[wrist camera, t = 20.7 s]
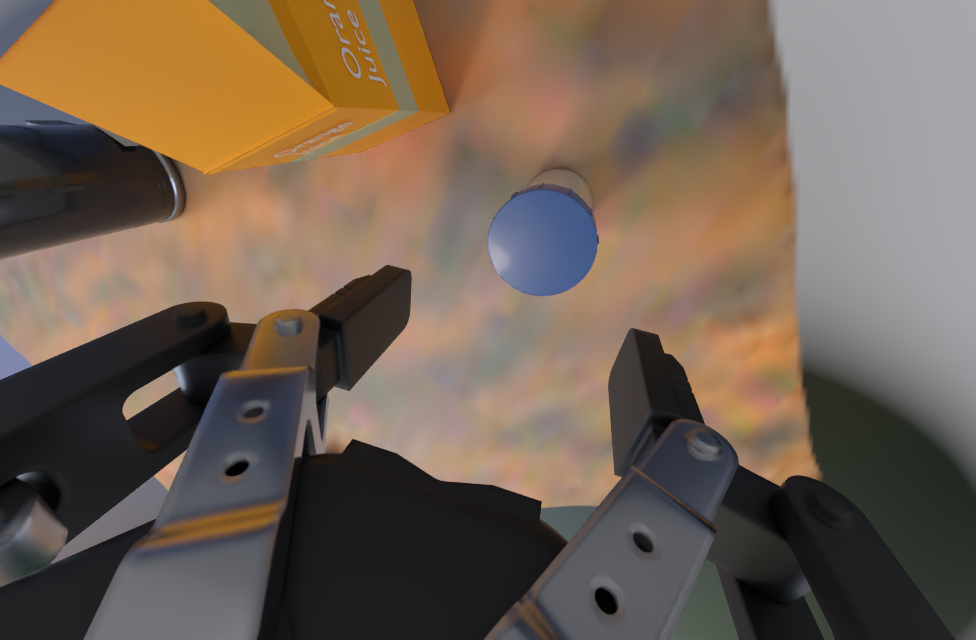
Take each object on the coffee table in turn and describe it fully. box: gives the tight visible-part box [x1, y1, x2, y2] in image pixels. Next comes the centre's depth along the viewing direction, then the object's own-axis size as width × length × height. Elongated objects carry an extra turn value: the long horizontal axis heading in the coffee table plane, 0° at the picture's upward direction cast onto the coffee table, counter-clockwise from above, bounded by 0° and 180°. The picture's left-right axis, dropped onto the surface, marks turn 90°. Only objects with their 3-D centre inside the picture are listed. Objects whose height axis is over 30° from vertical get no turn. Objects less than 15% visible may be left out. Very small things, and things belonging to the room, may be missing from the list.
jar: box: [526, 169, 592, 208], centre depth 24 cm, size 5×5×11 cm
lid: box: [488, 183, 599, 296], centre depth 20 cm, size 6×6×2 cm
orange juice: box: [0, 0, 450, 175], centre depth 18 cm, size 8×9×20 cm
